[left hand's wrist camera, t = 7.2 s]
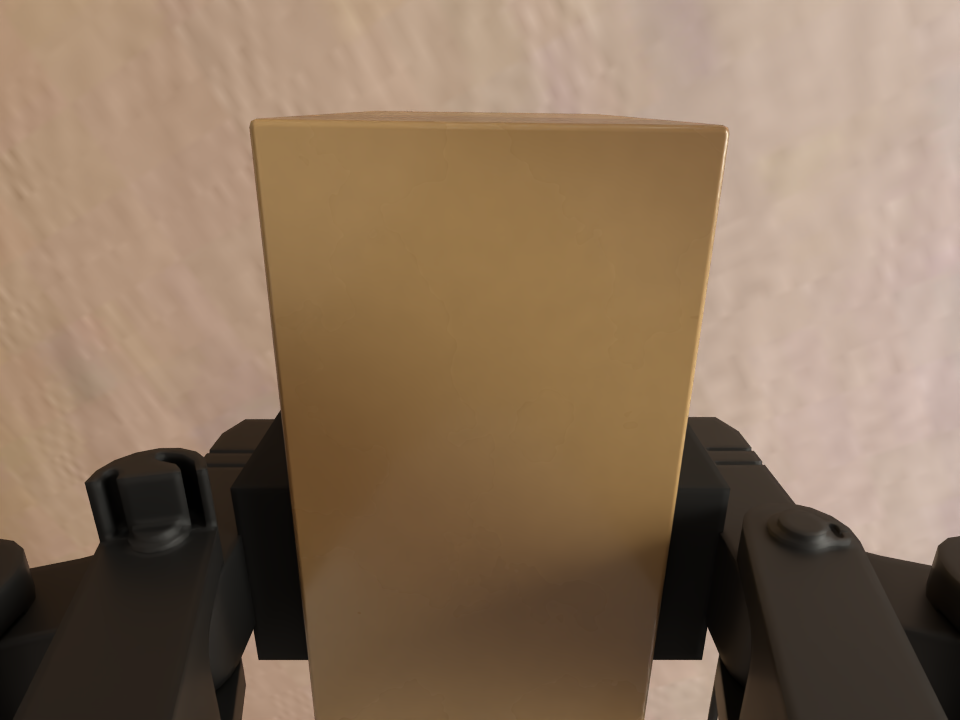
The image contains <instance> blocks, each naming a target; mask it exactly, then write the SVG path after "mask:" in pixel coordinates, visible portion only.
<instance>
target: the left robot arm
mask: <svg viewBox="0 0 960 720" xmlns="http://www.w3.org/2000/svg"><path fill="white" fill-rule="evenodd" d="M85 486H86V490H87V493H88V497H89V501H90V505H91V509H92V512H93V516H94V520H95V524H96V528H97V531H98V535H99V539H100V544H99V546H98V548H97V550H96V552H95V554H94V555H93V556H89V557H85V558H81V559H76V560H71V561H66V562H61V563H56V564H51V565H46V566H41V567H35V568H29V565H28V562H27V559H26V556H25V552H24V549H23V548H22V547H21V546H19V545H18V544H17V543H15V542H14V541H10V540H4V539H0V720H242V712H243V704H244V696H245V688H246V683H245V676H244V669H243V664H242V658H241V657H242V655H243V652H244V650H245V648H246V645H247V643H248V641H249V638H250V636H251V634H252V631H253V629H254V635H255V641H256V647H257V653H258V659H259V660H308V652H307V643H306V634H305V625H304V616H303V607H302V598H301V589H300V580H299V571H298V562H297V553H296V544H295V535H294V526H293V517H292V508H291V499H290V489H289V480H288V471H287V462H286V453H285V444H284V435H283V426H282V417H281V410H280V412H279V413H278V415H277V416H276V418H275V419H245V420H244V421H242V422H240V423H239V424H237V425H235V426H234V427H232V428H231V429H229V430H227V431H226V432H224V433H223V434H222V435H221V436H220V437H219V439H218V440H217V441H216V442H215V444H214V445H213V446H212V448H211V449H210V453H207V454H206V455H205V457H203V456H201V455H200V454H199V453H197V452H196V451H191V450H187V449H182V448H158V449H153V450H148V451H142V452H137V453H134V454H131V455H128V456H125V457H123V458H120V459H117V460H114V461H113V462H111V463H109V464H107V465H106V466H104V467H102V468H100V469H99V470H97V471H96V472H95V473H94V474H93V475H92V476H91V477H90V478H89V479H88V480H87V481H86V482H85ZM707 627H708V629H709V631H710V634H711V636H712V638H713V641H714V643H715V645H716V647H717V650H718V652H719V658H718V664H717V669H716V675H715V681H714V686H713V692H712V697H711V703H710V708H709V714H708V720H717V718H718V719H719V720H960V536H958V537H951V538H947V539H946V540H945V541H944V542H942V543H941V544H940V545H939V546H938V548H937V551H936V554H935V558H934V561H933V564H932V566H930V565H925V564H920V563H915V562H910V561H904V560H899V559H894V558H889V557H884V556H879V555H876V554H872V553H868V552H865V550H864V548H863V546H862V544H861V542H860V541H859V539H858V538H857V537H856V536H855V535H854V533H853V532H852V531H851V530H850V528H848V527H847V526H845V525H844V524H843V523H841V522H840V521H838V520H837V519H835V518H834V517H832V516H830V515H827V514H825V513H823V512H820V511H818V510H815V509H813V508H810V507H805V506H801V505H796V504H795V503H794V502H793V500H792V499H791V498H790V497H789V495H788V494H787V493H786V491H785V490H784V489H783V488H782V486H781V485H780V484H779V483H778V481H777V480H776V479H775V477H774V476H773V475H772V474H771V472H770V471H769V470H768V468H767V467H766V466H765V465H762V461H761V459H760V458H759V457H758V456H757V454H756V453H755V452H754V451H751V447H750V445H749V444H748V443H747V442H746V440H745V439H744V438H743V436H742V435H741V434H740V433H739V431H737V430H736V429H734V428H732V427H731V426H729V425H727V424H726V423H724V422H722V421H721V420H719V419H718V418H716V417H688V421H687V428H686V435H685V442H684V449H683V456H682V462H681V469H680V476H679V483H678V490H677V497H676V504H675V511H674V517H673V524H672V531H671V538H670V545H669V552H668V559H667V566H666V573H665V579H664V586H663V593H662V600H661V607H660V614H659V621H658V628H657V634H656V641H655V648H654V655H653V660H702V656H703V650H704V644H705V638H706V632H707Z"/></svg>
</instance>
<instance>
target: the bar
mask: <svg viewBox="0 0 960 720" xmlns="http://www.w3.org/2000/svg"><path fill="white" fill-rule="evenodd" d="M249 128H250V137H251V146H252V155H253V164H254V173H255V182H256V191H257V200H258V209H259V218H260V227H261V236H262V245H263V254H264V263H265V272H266V282H267V291H268V300H269V309H270V318H271V327H272V336H273V345H274V354H275V363H276V372H277V381H278V390H279V399H280V408H281V417H282V426H283V435H284V444H285V453H286V462H287V471H288V480H289V489H290V499H291V508H292V517H293V526H294V535H295V544H296V553H297V562H298V571H299V580H300V589H301V598H302V607H303V616H304V625H305V634H306V643H307V652H308V661H309V670H310V679H311V688H312V697H313V706H314V716H315V720H644V717H645V710H646V703H647V696H648V689H649V683H650V676H651V669H652V662H653V655H654V648H655V641H656V634H657V628H658V621H659V614H660V607H661V600H662V593H663V586H664V579H665V573H666V566H667V559H668V552H669V545H670V538H671V531H672V524H673V517H674V511H675V504H676V497H677V490H678V483H679V476H680V469H681V462H682V456H683V449H684V442H685V435H686V428H687V421H688V414H689V407H690V401H691V394H692V387H693V380H694V373H695V366H696V359H697V352H698V346H699V339H700V332H701V325H702V318H703V311H704V304H705V297H706V290H707V284H708V277H709V270H710V263H711V256H712V249H713V242H714V235H715V229H716V222H717V215H718V208H719V201H720V194H721V187H722V180H723V174H724V167H725V160H726V153H727V146H728V139H729V130H728V128H727V127H725V126H723V125H715V124H703V123H692V122H680V121H669V120H657V119H646V118H634V117H623V116H611V115H600V114H550V113H478V112H406V111H368V112H353V113H337V114H322V115H307V116H291V117H276V118H261V119H255V120H253V121H251V123H250V127H249Z"/></svg>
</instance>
